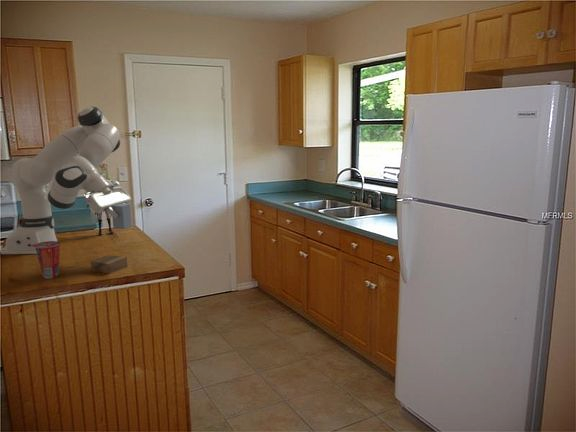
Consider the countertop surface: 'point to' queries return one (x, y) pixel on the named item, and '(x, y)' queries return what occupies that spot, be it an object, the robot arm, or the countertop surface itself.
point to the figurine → (101, 220)
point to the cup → (48, 258)
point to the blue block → (122, 216)
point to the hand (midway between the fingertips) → (122, 215)
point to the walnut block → (109, 264)
